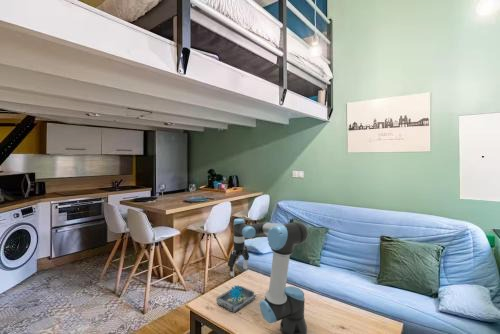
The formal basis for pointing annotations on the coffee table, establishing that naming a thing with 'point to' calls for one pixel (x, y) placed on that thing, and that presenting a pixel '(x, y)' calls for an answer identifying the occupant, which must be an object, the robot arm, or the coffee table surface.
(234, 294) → the gear
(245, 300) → the gray metal tray
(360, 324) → the coffee table surface
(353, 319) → the coffee table surface
